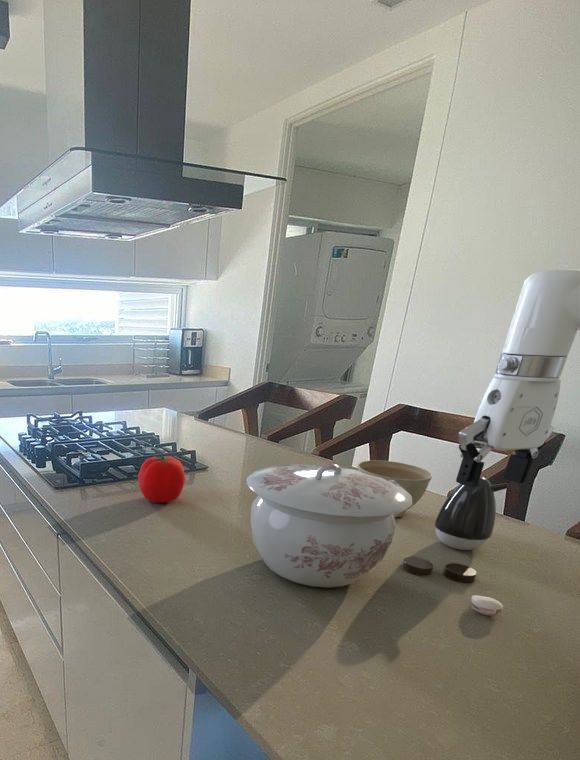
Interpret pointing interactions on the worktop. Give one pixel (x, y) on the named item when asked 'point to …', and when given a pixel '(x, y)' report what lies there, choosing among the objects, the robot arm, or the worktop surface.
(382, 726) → the worktop surface
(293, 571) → the chamber pot
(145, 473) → the tomato
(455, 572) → the middle disc
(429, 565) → the far disc
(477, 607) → the macaroon
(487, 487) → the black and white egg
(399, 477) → the planter bowl
